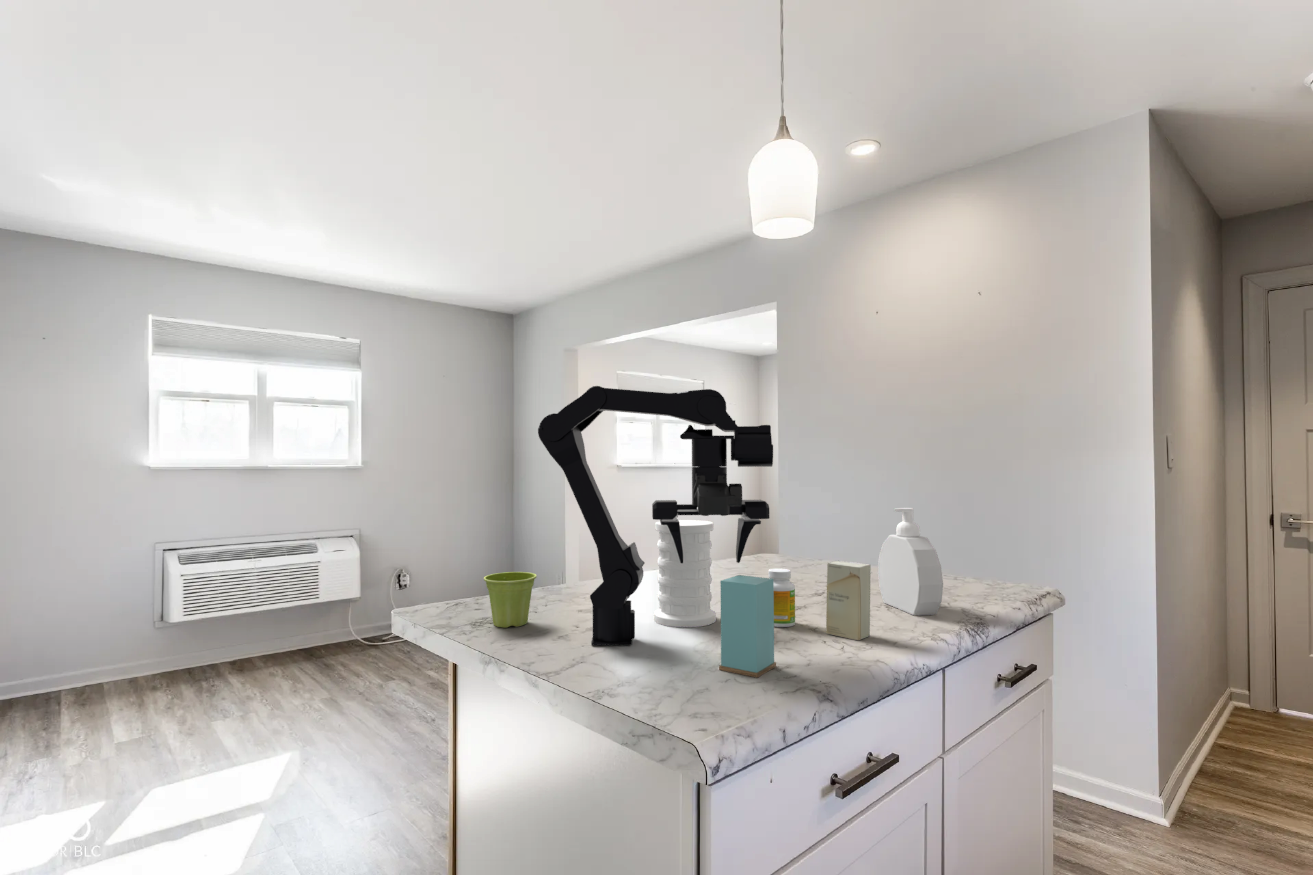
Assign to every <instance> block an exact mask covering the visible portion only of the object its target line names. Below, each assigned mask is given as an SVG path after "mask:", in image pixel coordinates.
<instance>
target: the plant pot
mask: <svg viewBox="0 0 1313 875" xmlns="http://www.w3.org/2000/svg"><path fill="white" fill-rule="evenodd" d="M537 577H538V576H537V574H536V573H534V572H527V571H507V572H497V573H491V574H487V575H486V576H484V577H483V581H484V582H485V585H486V589H487V591H488V597H489V603H490V609H491V610H490V611H491V618H492V623H493V626H494V627H496V628H505V629H507V628H509V627H511V626H513V627H516V628H518V627H521V626H524V625H526V624H528V621H529V612H530V607H531V606H530V605H531V600H532V599H531V598H532V592H533V587H534V584H535V579H537Z"/></svg>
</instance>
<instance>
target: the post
mask: <svg viewBox="0 0 1313 875" xmlns="http://www.w3.org/2000/svg"><path fill="white" fill-rule="evenodd" d="M776 667H777V662H776V661H774V663H772V664H771V665H769V666H767V667H766V668H764V669H762V670H761V671H759V672H757V673H755V672H750V671H745V670H740V669H735V668H730V667H725V666H721V664H720V665H718V668H719V669H718V670H719V671H724V672H729V673H734V674H737V675H742V676H747V677H753V678H759V677H761V676H762V675H765V674H766V673H768V672H769V671H771V670H773V669H774V668H776Z"/></svg>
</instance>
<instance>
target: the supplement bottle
mask: <svg viewBox="0 0 1313 875" xmlns="http://www.w3.org/2000/svg"><path fill="white" fill-rule="evenodd" d="M767 575H768V578H771V579H773V581H774V628H788V627H789V628H790V627H793V626H795V624H796V586H795V583H793V582H792V581H790V579H791V578H792V571H791V570H790V569H787V568H781V567H780V568H769V569H768V574H767Z"/></svg>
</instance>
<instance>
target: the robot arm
mask: <svg viewBox="0 0 1313 875" xmlns="http://www.w3.org/2000/svg"><path fill="white" fill-rule="evenodd" d="M606 411H607V412H619V413H620V412H621V413H631V414H641V415H642V414H643V415H644V414H645V415H652V416H654V415H655V416H665V417H666V416H667V417H671V418H675V419H679V420H682V421H685V422H690V423H693V424H697V425H699V426H704V427H714V426H715V427H716V428H718V429H719V430H721V431H722V432H725V433H733V435H714V434H713V432H714V431H713V429H711V428H710V429H709V428H708V429H707V428H705V429H701V428H700V429H696V428H694V427H693V425H692V424H688V425H687V428H686V429H685V431H683V432H682V433H681V434H680V436H679V437H680V439H681V440H691V504H689V503H687V504H686V503H683V504H682V503H680V504H678V501H677V500H675V499H670V500H669V499H665V500H664V499H663V500H662V499H660V500H659V499H658V500H657V499H656V500H654V501H653V502H652V504H651V506H652V508H651V511H652V512H651V515H652V516H651V517H652V520H656V521H658V520H659V521H660V523H661V525H667V526H668V528H669V530H670V532H671V535H672V537H673V540H674V543H675V546H676V550H677V553H678V556H679V559H680V563H683V549H682V541H681V534H680V524H679V521H678V520H679V519H678V517H679V516H703V517H706V516H707V517H709V516H722V517H725V516H740V517H738V519H737V531H736V532H737V533H736V545H735V560H736V563H737V564H739V563H740V562H741V559H742V556H743V553H744V551H745V547H746V544H747V541H748V538H749V536H750V534H751V533H752V530H753V529H754V527H755V526H756V525H761V524H762V521H761V520H768V519H770V504H769V503H768V502H767V501H766V500H762V499H743V486H742V483H729V484H728V473H727V472H728V470H727V469H728V468H727V467H728V465H727V464H728V462H727V461H728V460H727V459H728V454H727V453H728V451H727V447H728V446H727V440H730V461H731V462H733V461H735V462H737V467H738V468H741V467H745V468H746V467H747V468H749V467H750V468H754V467H755V468H757V467H758V468H759V467H761V468H763V467H764V468H765V467H766V468H767V467H770V468H771V467H773V464H774V445H773V441H772V440H773V439H772V430H771V428H772V427H771V425H770V424H761V425H757V426H754V425H751V426H750V425H748V426H745V425H744V426H743V425H742V426H740V425H739V426H738V424H736V420H735V419H734V420H733V418H732V417H731V415H730V414H729V413H728V412H727V402H726V399H725V397H724V396H723V394H722V393H721V392H720V391H717V390H714V389H711V388H710V389H709V388H704V389H694V390H685V391H678V392H671V393H670V392H661V391H659V392H658V391H646V390H645V391H644V390H635V389H633V390H632V389H622V388H621V389H620V388H609V387H608V388H607V387H602V386H600V385H595V386H594V385H592V386H591V387H589V388H588V389H587V390H586V391H585V392H584V393H583V394H582V395H581V396H579V397H578V398H576V399H575V400H573V401H571V402H570V403H568V404H567V405H566V406H564V407H563V408H561V409H560V411H558V412H557V413H551V414H548V415H546V416H545V417H543V418H542V420H541V422H540V423H539V426H538V428H537V434H538V437H539V438H538V439H539V440H540V441H541V443H542V444H543V446H544V447H545V449H546V451H547V452H548V454H549V455H550V456H551V458H553V460H554V461H555V462H556V463H557V465H558V466H559V467H560V468H561V470H562V471H563V473H564V476H565V477H566V480H567V483H568V484H569V485H568V486H569V487H570V488H571V492H572V493H573V494H572V495H574V498H575V500H576V502H577V504H578V508H579V510H580V512H581V514H582V516H583V519H584V521H585V523H586V525H587V528H588V530H589V532H590V534H591V537H592V539H593V541H594V543H595V545H596V549H597V555H598V562H599V563H598V564H599V569H600V573H601V577H602V582H601V583H600V584H599V585H598V587H597V588H595V589H594V591H592V593H591V594H590V595H589V599H590V601H591V604H592V638H591V641H590V644H591V646H631V645H632V643H633V640H634V639H635V638H636V634H635V633H636V629H635V628H636V627H635V626H636V624H635V623H636V622H635V621H636V618H635V614H636V611H635V609H632V600H628V599H629V598H630V596H631V595H633V594H634V593H636V591H637V589H638V587H640V585H641V583H642V580H643V578H644V569H643V567H644V565H645V561H644V560H643V559H642V558H641V556H640V555H639V552H638V547H637V544H636V542H634V541H633V542H632V543H631V544H629V545H628V544H627V543H626V541H624V539H623V538H622V537H621V536H620V533H619V532H618V530H617V527H616V524H615V522H614V520H613V518H612V516H611V514H610V512H609V509H608V506H607V504H606V502H605V500H604V497H603V496H602V495H603V494H602V493H601V491H600V488H599V486H598V484H597V482H596V479H595V477H594V474H593V473H592V471H591V469H590V466H589V463H588V461H587V456H586V449H585V443H584V442H585V441H584V438H583V434H582V432H583V431H585V430H586V429H587V428H589V426H590V425H591V424H592V423H593V422H594V421H595V420H596V419H597V418H598V417H599V416H600V415H601V414H602V413H603V412H606Z"/></svg>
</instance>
